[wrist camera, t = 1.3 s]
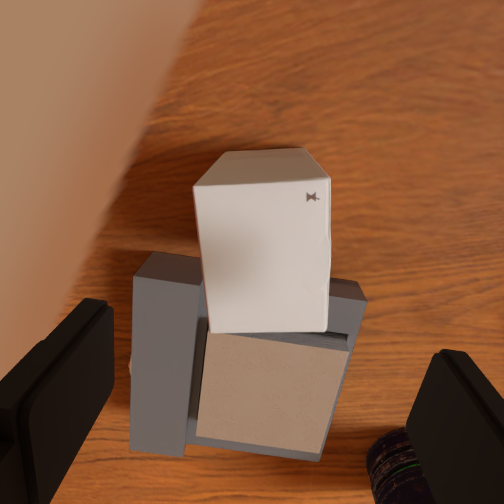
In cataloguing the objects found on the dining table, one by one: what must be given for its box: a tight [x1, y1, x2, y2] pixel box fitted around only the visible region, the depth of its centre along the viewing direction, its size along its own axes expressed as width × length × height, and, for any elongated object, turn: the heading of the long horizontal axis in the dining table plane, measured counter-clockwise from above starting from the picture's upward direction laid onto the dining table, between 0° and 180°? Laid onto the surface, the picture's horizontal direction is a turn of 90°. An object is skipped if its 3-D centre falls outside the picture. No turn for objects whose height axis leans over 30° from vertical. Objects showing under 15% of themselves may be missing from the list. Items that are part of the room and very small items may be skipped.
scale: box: [128, 251, 367, 462], centre depth 32 cm, size 18×18×5 cm
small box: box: [192, 148, 331, 333], centre depth 23 cm, size 8×6×13 cm
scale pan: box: [196, 329, 349, 453], centre depth 31 cm, size 11×11×3 cm
